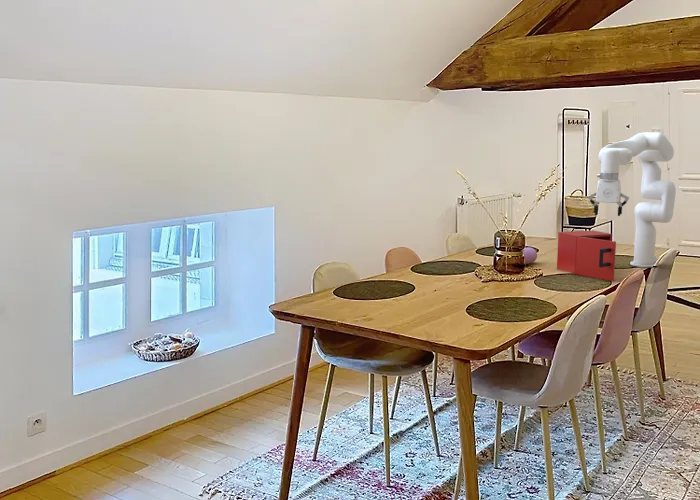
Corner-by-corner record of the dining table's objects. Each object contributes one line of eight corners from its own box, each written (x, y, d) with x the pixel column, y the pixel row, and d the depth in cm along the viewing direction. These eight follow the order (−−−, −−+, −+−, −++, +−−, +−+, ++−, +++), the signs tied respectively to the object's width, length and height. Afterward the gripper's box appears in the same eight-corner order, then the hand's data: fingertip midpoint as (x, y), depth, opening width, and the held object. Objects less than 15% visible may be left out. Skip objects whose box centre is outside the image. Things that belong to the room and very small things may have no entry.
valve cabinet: (609, 271, 339) (612, 233, 336) (574, 274, 332) (576, 236, 329) (590, 266, 352) (592, 230, 349) (556, 268, 345) (558, 232, 343)
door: (603, 282, 312) (605, 243, 309) (566, 275, 328) (568, 237, 325) (613, 280, 316) (616, 241, 313) (576, 273, 332) (578, 236, 329)
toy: (524, 262, 366) (506, 266, 351) (525, 246, 366) (507, 248, 350) (539, 264, 362) (521, 267, 346) (540, 247, 361) (523, 250, 345)
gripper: (587, 177, 317) (586, 215, 320) (629, 178, 309) (627, 217, 312) (590, 176, 323) (589, 213, 326) (631, 176, 315) (629, 215, 318)
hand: (607, 215), depth 319 cm, fingers open, 9 cm apart
